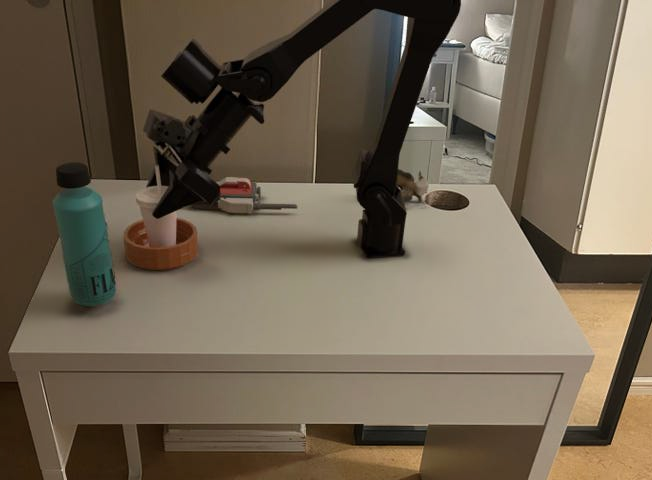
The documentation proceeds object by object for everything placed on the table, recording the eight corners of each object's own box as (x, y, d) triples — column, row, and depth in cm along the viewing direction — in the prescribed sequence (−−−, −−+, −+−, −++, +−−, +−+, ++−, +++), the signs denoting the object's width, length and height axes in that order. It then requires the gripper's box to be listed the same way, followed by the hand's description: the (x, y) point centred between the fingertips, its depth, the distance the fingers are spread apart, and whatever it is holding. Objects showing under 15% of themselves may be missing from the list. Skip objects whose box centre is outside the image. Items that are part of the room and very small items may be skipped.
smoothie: (176, 263, 107) (166, 175, 98) (137, 259, 108) (124, 172, 100) (189, 244, 112) (181, 159, 104) (152, 240, 113) (140, 156, 105)
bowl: (195, 237, 116) (193, 214, 113) (201, 269, 107) (199, 246, 104) (126, 241, 114) (123, 219, 111) (126, 275, 105) (123, 251, 103)
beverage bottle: (95, 321, 95) (71, 180, 83) (61, 306, 98) (32, 168, 86) (128, 300, 99) (110, 163, 87) (94, 287, 102) (72, 153, 90)
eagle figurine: (411, 184, 132) (368, 179, 130) (429, 160, 126) (384, 155, 123) (418, 218, 130) (374, 214, 127) (436, 196, 123) (391, 191, 121)
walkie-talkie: (183, 214, 123) (297, 216, 123) (181, 190, 120) (297, 193, 120) (190, 194, 130) (297, 196, 130) (188, 171, 127) (298, 173, 127)
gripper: (159, 73, 104) (95, 154, 107) (192, 109, 90) (118, 201, 93) (212, 120, 111) (151, 196, 114) (251, 161, 97) (180, 245, 100)
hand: (149, 207), depth 105 cm, fingers closed on smoothie, 6 cm apart
